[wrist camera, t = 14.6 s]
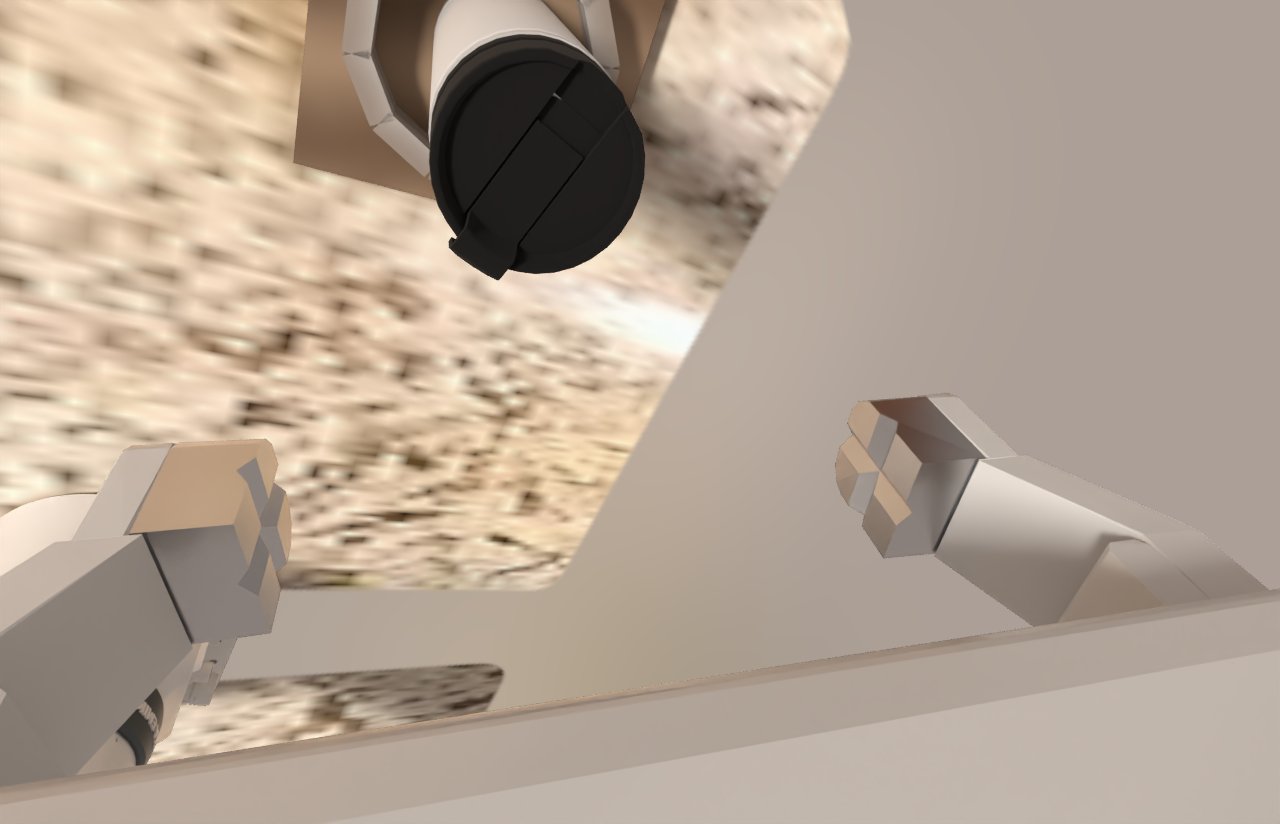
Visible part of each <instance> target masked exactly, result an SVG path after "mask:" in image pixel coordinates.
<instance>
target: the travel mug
mask: <svg viewBox="0 0 1280 824" xmlns="http://www.w3.org/2000/svg"><path fill="white" fill-rule="evenodd" d="M428 134H429V143H430V151H429V167H430V176H431V185H432V188H433V191H434V194H435V197H436V201H437V204H438V207H439V208H440V210H441V212H442V214H443V216H444V218H445V220H446V221H447V223H448V224H449V226H450V227H451V229H452V230H453V231H454V233H455V234H456V236H457V238H456V239H454V238H453V237H451V239H450V240H449V248H450V249H451V250H452V251H453V252H454V253H455V254H456V255H457V256H459V257H460V258H461V259H463V260H464V261H466V262H467V263H469V264H470V265H471V266H473V267H474V268H476V269H478V270H479V271H481V272H482V273H484V274H486V275H487V276H490V277H492V278H494V279H496V280H499V279H500V278H501V277H502V276H503V275H504V273H505V272H506V271H507V270H508V269H509V270H513V271H517V272H524V273H532V274H541V273H554V272H558V271H562V270H566V269H570V268H573V267H576V266H578V265H580V264H582V263H584V262H586V261H588V260H590V259H592V258H593V257H595V256H596V255H597V254H599V253H600V252H601V251H603V250H604V249H606V248H607V247H608V246H609V245H610V244H611V243H612V242H613V241H614V240H615V238H616V237H617V236H618V235H619V234H620V233H621V232H622V230H623V229H624V227H625V226H626V224H627V222H628V221H629V219H630V218H631V216H632V214H633V212H634V209H635V207H636V205H637V202H638V200H639V197H640V193H641V189H642V184H643V180H644V168H645V152H644V145H643V138H642V133H641V131H640V129H639V127H638V125H637V123H636V121H635V119H634V117H633V115H632V113H631V112H630V110H629V108H628V106H627V104H626V102H625V99H624V96H623V93H622V92H621V91H620V89H619V88H618V87H617V86H616V85H615V84H614V82H613V80H612V78H611V77H610V75H609V74H608V73H607V72H606V71H605V69H604V68H603V67H602V66H601V65H600V64H599V62H598V61H597V60H596V59H595V58H594V57H593V56H592V55H591V54H590V52H589V51H588V50H587V49H586V48H585V47H584V46H583V45H582V44H581V43H580V42H579V40H578V39H577V38H576V37H575V36H574V35H573V34H572V33H571V32H570V31H569V30H568V28H567V27H566V26H565V25H564V24H563V23H562V22H561V21H560V20H559V19H558V18H557V16H556V15H555V14H554V13H553V12H552V11H551V10H550V9H549V8H548V7H547V6H546V4H545V3H544V2H543V1H542V0H447V1H446V2H445V3H444V5H443V7H442V9H441V11H440V13H439V15H438V18H437V22H436V25H435V30H434V42H433V60H432V78H431V95H430V113H429V131H428Z"/></svg>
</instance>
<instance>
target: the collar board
mask: <svg viewBox="0 0 1280 824" xmlns="http://www.w3.org/2000/svg"><path fill="white" fill-rule="evenodd" d="M446 1H447V0H309V2H308V13H307V24H306V34H305V45H304V55H303V66H302V76H301V87H300V98H299V108H298V119H297V129H296V140H295V150H294V161H293V163H296V164H300V165H304V166H307V167H311V168H315V169H319V170H323V171H327V172H331V173H334V174H338V175H342V176H346V177H350V178H354V179H358V180H361V181H365V182H369V183H373V184H377V185H381V186H385V187H388V188H392V189H396V190H400V191H404V192H408V193H411V194H415V195H419V196H423V197H427V198H431V199H435V200H436V197H435V194H434V191H433V188H432V185H431V176H430V167H429V151H430V143H429V134H428V131H429V113H430V95H431V78H432V60H433V42H434V30H435V25H436V22H437V18H438V15H439V13H440V11H441V9H442V7H443V5H444V3H445V2H446ZM542 1H543V2H544V3H545V4H546V6H547V7H548V8H549V9H550V10H551V11H552V12H553V13H554V14H555V15H556V16H557V18H558V19H559V20H560V21H561V22H562V23H563V24H564V25H565V26H566V27H567V28H568V30H569V31H570V32H571V33H572V34H573V35H574V36H575V37H576V38H577V39H578V40H579V42H580V43H581V44H582V45H583V46H584V47H585V48H586V49H587V50H588V51H589V52H590V54H591V55H592V56H593V57H594V58H595V59H596V60H597V61H598V62H599V64H600V65H601V66H602V67H603V68H604V69H605V71H606V72H607V73H608V74H609V75H610V77H611V78H612V80H613V82H614V84H615V85H616V86H617V87H618V88H619V89H620V91H621V92H622V93H623V96H624V99H625V102H626V104H627V106H628V108H629V110H630V108H631V105H632V102H633V99H634V96H635V93H636V90H637V87H638V83H639V80H640V77H641V74H642V71H643V68H644V65H645V62H646V59H647V56H648V53H649V50H650V46H651V43H652V40H653V37H654V34H655V31H656V28H657V25H658V22H659V19H660V16H661V13H662V9H663V6H664V3H665V0H542Z"/></svg>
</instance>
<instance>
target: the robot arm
mask: <svg viewBox="0 0 1280 824" xmlns="http://www.w3.org/2000/svg"><path fill="white" fill-rule="evenodd" d="M847 424H848V426H849V428H850V430H851V432H852V435H851V436H850V437H849V438H848V439H847V440H846V441H845V443H843V444H842V445H841V446H840V448H839V452H838V456H837V460H836V463H835V467H836V480H837V484H838V487H839V490H840V493H841V495H842V497H843V498H844V499H845V501H846V503H847V504H848V506H850V507H852V508H853V509H855V510H857V511H859V512H860V513H862V514H864V519H863V524H862V527H863V528H864V530H865V531H866V533H867V534H868V536H869V537H870V539H871V540H872V542H873V543H874V545H875V546H876V548H877V549H878V551H879V552H880V554H881V555H882V557H883V558H891V557H902V556H912V555H923V554H934V553H935V557H937V558H938V559H939V560H941V561H942V562H943V563H945V564H946V565H948V566H949V567H950V568H952V569H953V570H955V571H956V572H957V573H959V574H960V575H962V576H963V577H965V578H966V579H967V580H969V581H970V582H971V583H973V584H974V585H976V586H977V587H979V588H980V589H981V590H983V591H984V592H986V593H987V594H988V595H990V596H991V597H993V598H994V599H995V600H997V601H998V602H1000V603H1001V604H1003V605H1004V606H1005V607H1007V608H1008V609H1009V610H1011V611H1012V612H1014V613H1015V614H1017V615H1018V616H1019V617H1021V618H1022V619H1024V620H1025V621H1026V622H1028V623H1029V624H1030V625H1032V626H1033V627H1028V628H1022V629H1015V630H1010V631H1002V632H997V633H989V634H983V635H977V636H971V637H964V638H957V639H951V640H945V641H939V642H931V643H925V644H918V645H913V646H906V647H900V648H893V649H886V650H880V651H873V652H867V653H861V654H854V655H848V656H841V657H835V658H828V659H822V660H815V661H809V662H802V663H797V664H790V665H783V666H777V667H771V668H764V669H757V670H751V671H745V672H738V673H731V674H725V675H719V676H713V677H706V678H699V679H694V680H687V681H680V682H674V683H667V684H661V685H655V686H648V687H642V688H635V689H628V690H622V691H615V692H609V693H603V694H596V695H590V696H583V697H577V698H571V699H565V700H558V701H551V702H545V703H538V704H532V705H525V706H519V707H512V708H506V709H500V710H493V711H487V712H480V713H474V714H467V715H461V716H455V717H448V718H442V719H435V720H429V721H422V722H416V723H409V724H403V725H397V726H390V727H384V728H377V729H371V730H364V731H358V732H352V733H345V734H339V735H332V736H326V737H319V738H313V739H306V740H300V741H294V742H287V743H281V744H274V745H268V746H261V747H255V748H249V749H242V750H236V751H229V752H223V753H216V754H210V755H203V756H197V757H191V758H184V759H178V760H171V761H165V762H158V763H152V764H147V762H148V760H149V758H150V757H151V755H152V752H153V750H154V748H155V745H156V744H157V743H159V742H161V741H163V740H164V739H166V738H167V737H168V736H169V735H170V734H171V731H172V729H173V726H174V723H175V720H176V717H177V714H178V712H179V709H180V706H181V705H184V704H188V703H189V705H191V704H193V705H199V706H206V705H209V704H210V701H211V698H212V695H213V692H214V691H215V689H216V686H217V684H218V682H219V680H220V677H221V675H222V673H223V670H224V668H225V666H226V663H227V661H228V659H229V656H230V654H231V652H232V649H233V647H234V645H235V642H236V640H237V638H240V637H247V636H254V635H260V634H267V633H271V629H272V625H273V621H274V617H275V612H276V608H277V604H278V600H279V596H280V591H281V589H280V585H279V582H278V579H277V575H276V572H277V571H278V570H279V569H281V568H282V567H283V566H284V565H285V564H286V563H287V561H288V556H289V551H290V546H291V524H292V523H291V515H290V507H289V503H288V499H287V495H286V491H284V490H283V489H282V488H280V487H279V486H278V485H276V484H275V483H273V482H274V478H275V475H276V471H277V467H278V462H277V459H276V456H275V453H274V450H273V446H272V444H271V443H270V442H269V441H268V440H267V439H250V440H227V441H205V442H183V443H178V444H174V443H166V444H150V445H134V446H131V447H129V448H127V449H125V450H123V451H122V452H121V453H120V455H119V457H118V459H117V460H116V462H115V464H114V465H113V467H112V469H111V471H110V472H109V474H108V476H107V478H106V479H105V481H104V483H103V484H102V486H101V488H100V490H99V491H98V493H97V494H72V495H62V496H55V497H49V498H45V499H40V500H37V501H34V502H31V503H28V504H25V505H22V506H20V507H18V508H16V509H14V510H12V511H10V512H9V513H7V514H6V515H4V516H3V517H1V518H0V824H1280V589H1273V590H1269V589H1267V588H1266V587H1265V586H1264V585H1263V584H1261V583H1260V582H1259V581H1258V580H1257V579H1255V578H1254V577H1253V576H1252V575H1251V574H1250V573H1248V572H1247V571H1246V570H1245V569H1244V568H1242V567H1241V566H1240V565H1239V564H1238V563H1236V562H1235V561H1234V560H1233V559H1232V558H1231V557H1230V556H1228V555H1227V554H1226V553H1225V552H1224V551H1222V550H1221V549H1220V548H1219V547H1218V546H1216V545H1215V544H1214V543H1213V542H1212V541H1211V540H1209V539H1208V538H1207V537H1206V536H1205V535H1203V534H1202V533H1201V532H1200V531H1199V530H1197V529H1195V528H1193V527H1190V526H1188V525H1186V524H1184V523H1181V522H1179V521H1177V520H1174V519H1172V518H1170V517H1168V516H1165V515H1163V514H1161V513H1159V512H1156V511H1154V510H1152V509H1150V508H1147V507H1145V506H1143V505H1140V504H1138V503H1136V502H1134V501H1131V500H1129V499H1127V498H1124V497H1122V496H1120V495H1118V494H1115V493H1113V492H1111V491H1109V490H1106V489H1104V488H1102V487H1099V486H1097V485H1095V484H1093V483H1090V482H1088V481H1085V480H1083V479H1081V478H1079V477H1077V476H1074V475H1072V474H1070V473H1068V472H1065V471H1063V470H1061V469H1058V468H1056V467H1054V466H1052V465H1049V464H1047V463H1045V462H1042V461H1040V460H1038V459H1035V458H1033V457H1031V456H1028V455H1023V456H1019V455H1018V454H1016V453H1015V452H1014V450H1012V449H1011V448H1010V447H1009V446H1008V445H1007V444H1006V443H1005V442H1004V441H1003V440H1002V439H1001V438H1000V437H999V436H998V435H997V434H996V433H995V432H994V431H993V430H992V429H991V428H989V426H988V425H987V424H986V423H984V422H983V421H982V420H981V419H980V418H979V417H978V416H977V415H976V414H975V413H974V412H973V411H972V410H971V409H970V408H969V407H968V406H967V405H966V404H965V403H964V402H963V401H962V400H961V399H960V398H959V397H957V396H954V395H951V394H949V393H944V394H933V395H923V396H918V397H911V398H896V399H884V400H883V399H882V400H868V401H858V403H857V404H856V405H855V406H854V408H853V409H852V411H851V414H850V417H849V420H848V423H847Z"/></svg>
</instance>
